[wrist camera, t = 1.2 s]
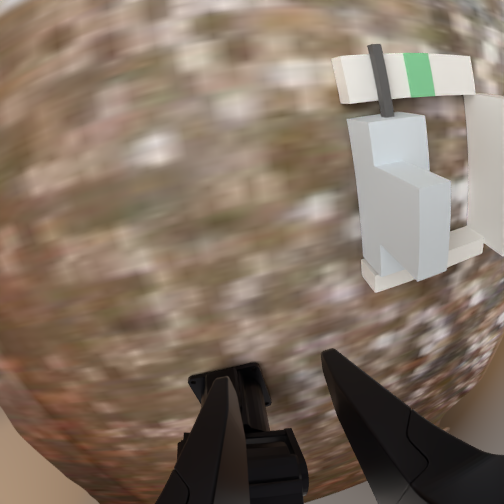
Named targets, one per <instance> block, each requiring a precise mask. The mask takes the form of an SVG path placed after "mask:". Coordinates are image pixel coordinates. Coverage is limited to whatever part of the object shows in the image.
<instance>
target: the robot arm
mask: <svg viewBox="0 0 504 504" xmlns="http://www.w3.org/2000/svg"><path fill="white" fill-rule="evenodd" d="M321 360H322V368H323V373H324V376H325V379H326V383H327V386H328V389H329V392H330V395H331V398H332V402H333V405H334V408H335V411H336V414H337V416H338V419H339V421H340V423H341V425H342V427H343V429H344V432H345V434H346V436H347V438H348V440H349V442H350V444H351V446H352V449H353V451H354V453H355V455H356V457H357V459H358V461H359V464H360V466H361V468H362V470H363V472H364V474H365V476H366V479H367V481H368V483H369V485H370V487H371V489H372V491H373V494H374V496H375V498H376V500H377V502H378V504H504V455H496V454H490V453H487V452H484V451H481V450H479V449H477V448H475V447H473V446H471V445H469V444H467V443H465V442H463V441H462V440H460V439H458V438H456V437H454V436H453V435H451V434H449V433H447V432H445V431H444V430H442V429H440V428H439V427H437V426H435V425H434V424H432V423H431V422H429V421H428V420H427V419H425V418H424V417H422V416H421V415H420V414H418V413H417V412H416V411H414V410H413V409H412V410H411V408H410V407H409V406H408V405H406V404H405V403H404V402H402V401H401V400H400V399H398V398H397V397H396V396H395V395H393V394H392V393H391V392H389V391H388V390H387V389H385V388H384V387H383V386H382V385H380V384H379V383H378V382H376V381H375V380H374V379H373V378H371V377H370V376H369V375H367V374H366V373H365V372H364V371H362V370H361V369H360V368H358V367H357V366H356V365H355V364H353V363H352V362H351V361H350V360H348V359H347V358H346V357H344V356H343V355H342V354H341V353H339V352H338V351H337V350H336V349H333V348H331V349H328V350H325V351H322V352H321ZM188 384H189V385H190V387H191V389H192V390H193V392H194V394H195V395H196V397H197V398H198V400H199V402H200V403H201V411H200V413H199V415H198V417H197V419H196V422H195V424H194V426H193V428H192V430H191V432H190V433H184V439H183V440H181V442H179V443H178V452H177V462H176V465H175V467H174V470H173V471H172V473H171V475H170V477H169V479H168V481H167V483H166V485H165V487H164V489H163V491H162V493H161V494H160V496H159V498H158V499H157V501H156V503H155V504H304V502H303V496H305V495H306V494H307V492H308V487H309V477H308V470H307V465H306V462H305V459H304V457H303V454H302V452H301V450H300V447H299V445H298V443H297V440H296V438H295V436H294V433H293V431H292V429H291V428H287V429H284V430H277V431H270V428H269V423H268V418H267V413H266V406H269V405H271V403H272V402H271V398H270V395H269V393H268V390H267V387H266V384H265V381H264V378H263V375H262V373H261V370H260V367H259V364H258V363H249V364H245V365H240V366H236V367H232V368H227V369H223V370H218V371H213V372H209V373H204V374H199V375H194V376H190V377H189V378H188Z"/></svg>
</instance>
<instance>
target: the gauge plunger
mask: <svg viewBox="0 0 504 504" xmlns="http://www.w3.org/2000/svg"><path fill="white" fill-rule="evenodd" d="M367 47H368V51H369V55H370V60H371V64H372V69H373V74H374V79H375V84H376V89H377V95H378V100H379V106H380V113H381V114H376V115H369V116H362V117H355V118H349V119H347V124H348V130H349V136H350V142H351V149H352V155H353V162H354V169H355V177H356V185H357V193H358V202H359V212H360V222H361V234H362V247H363V257H364V258H365V259H366V260H367V262H368V263H369V264H370V265H371V266H372V267H373V269H374V270H375V271H376V272H377V273H378V274H379V276H380V277H384V276H387V275H390V274H393V273H396V272H399V271H402V270H405V269H406V270H407V271H408V272H409V273H410V274H411V275H412V276H413V277H414V279H415V280H416V281H417V282H418V281H421V280H424V279H426V278H429V277H432V276H434V275H437V274H440V273H442V272H445V271H447V262H448V252H449V238H450V220H451V181H450V180H448V179H445V178H443V177H441V176H439V175H436V174H434V173H432V172H430V169H429V153H428V140H427V130H426V120H425V115H418V114H412V113H405V112H394V111H393V104H392V98H391V92H390V86H389V81H388V76H387V71H386V66H385V61H384V56H383V52H382V48H381V44H371V45H368V46H367Z"/></svg>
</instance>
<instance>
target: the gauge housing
mask: <svg viewBox="0 0 504 504" xmlns="http://www.w3.org/2000/svg"><path fill="white" fill-rule="evenodd" d="M383 56H384V61H385V66H386V71H387V76H388V81H389V86H390V92H391V98H392V99H397V98H409V97H427V96H442V95H463V96H464V105H465V114H466V126H467V142H468V212H467V226H465V227H462V228H459V229H456V230H453V231H450V238H449V252H448V262H447V267H449V266H452V265H454V264H457V263H459V262H462V261H464V260H467V259H469V258H472V257H474V256H477V255H479V254H482V251H483V244H486V245H487V246H489V247H490V248H491V249H493V250H494V251H496V252H497V253H498V254H500V255H501V256H502V257H503V256H504V96H501V95H494V94H486V93H475V85H474V78H473V72H472V66H471V60H470V56H460V55H446V54H428V53H384V54H383ZM331 61H332V65H333V69H334V74H335V78H336V83H337V87H338V92H339V97H340V102H341V103H343V104H353V103H361V102H369V101H377V100H378V95H377V89H376V84H375V79H374V74H373V69H372V64H371V60H370V55H369V54H362V55H348V56H339V57H336V58H332V59H331ZM361 269H362V276H363V278H364V279H365V280H366V282H367V283H368V284H369V285H370V287H371V288H372V289H373V291H374V292H375V293H377V292H380V291H383V290H386V289H389V288H392V287H394V286H397V285H400V284H403V283H406V282H409V281H412V280H414V277H413V276H412V275H411V274H410V273H409V272H408V271H407V270H406V269H405V270H402V271H399V272H396V273H393V274H390V275H387V276H384V277H380V276H379V274H378V273H377V272H376V271H375V270H374V269H373V267H372V266H371V265H370V264H369V263H368V262H367V260H366V259H365V258H364V259H361Z"/></svg>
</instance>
